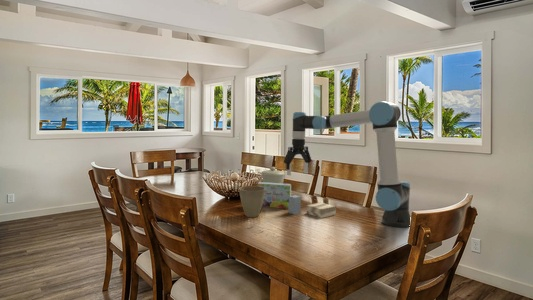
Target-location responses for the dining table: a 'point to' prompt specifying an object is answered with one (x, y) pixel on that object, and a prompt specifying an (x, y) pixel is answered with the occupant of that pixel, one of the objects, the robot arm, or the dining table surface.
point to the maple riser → (321, 210)
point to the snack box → (276, 194)
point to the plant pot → (252, 199)
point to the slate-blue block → (294, 204)
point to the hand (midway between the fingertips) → (297, 174)
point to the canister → (273, 176)
